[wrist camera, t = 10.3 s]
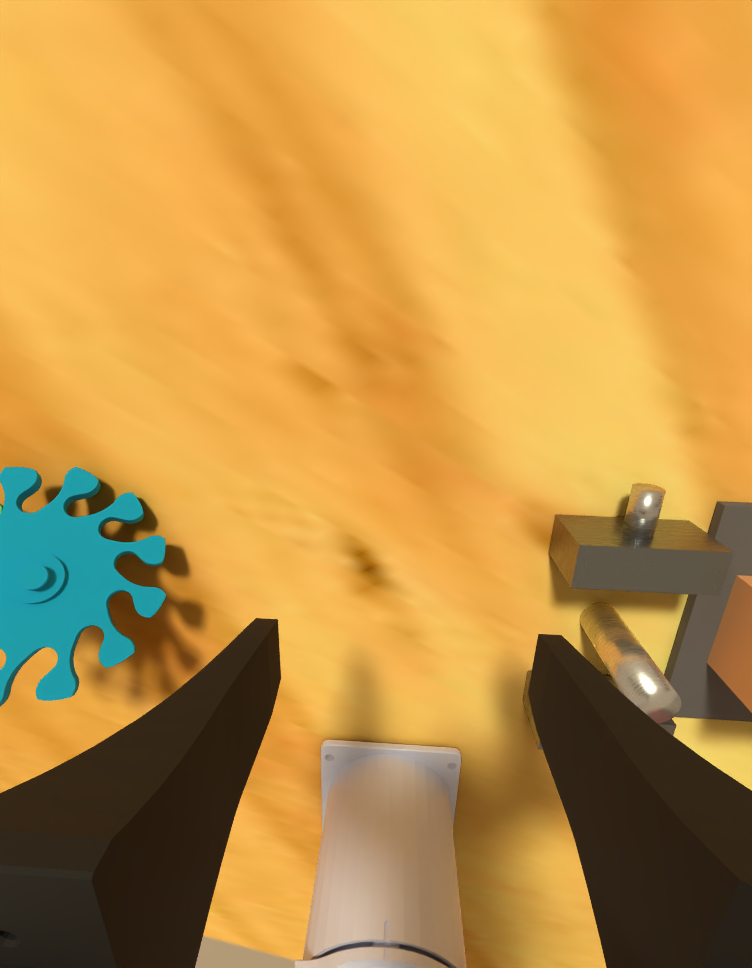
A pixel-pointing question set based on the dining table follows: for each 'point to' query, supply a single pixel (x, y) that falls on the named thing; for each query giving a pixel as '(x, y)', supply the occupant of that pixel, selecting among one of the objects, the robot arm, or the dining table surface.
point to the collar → (735, 642)
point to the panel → (711, 627)
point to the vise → (634, 587)
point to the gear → (64, 578)
